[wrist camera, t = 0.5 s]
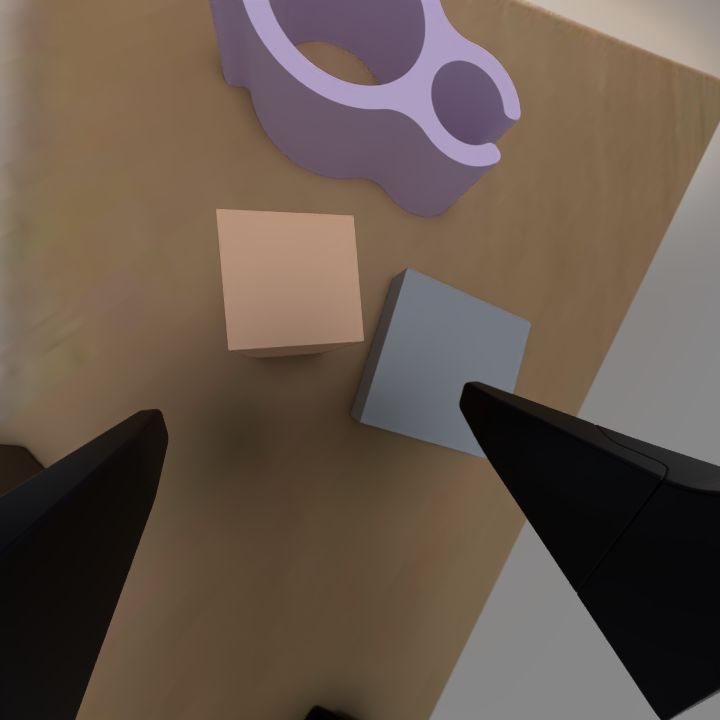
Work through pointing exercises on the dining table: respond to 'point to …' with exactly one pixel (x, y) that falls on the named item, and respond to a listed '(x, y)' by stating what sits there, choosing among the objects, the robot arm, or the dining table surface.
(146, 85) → the dining table surface
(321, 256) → the tan block
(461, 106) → the clip
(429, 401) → the plate
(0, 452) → the beer bottle
